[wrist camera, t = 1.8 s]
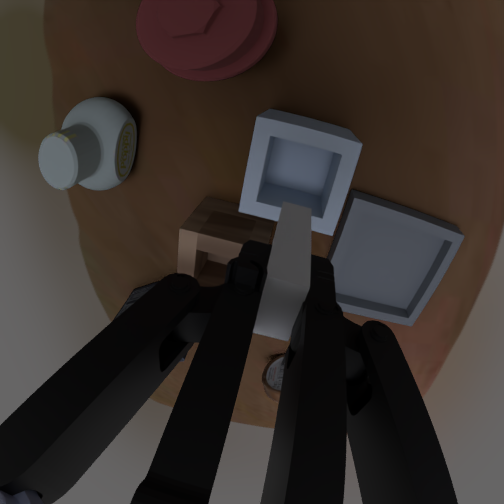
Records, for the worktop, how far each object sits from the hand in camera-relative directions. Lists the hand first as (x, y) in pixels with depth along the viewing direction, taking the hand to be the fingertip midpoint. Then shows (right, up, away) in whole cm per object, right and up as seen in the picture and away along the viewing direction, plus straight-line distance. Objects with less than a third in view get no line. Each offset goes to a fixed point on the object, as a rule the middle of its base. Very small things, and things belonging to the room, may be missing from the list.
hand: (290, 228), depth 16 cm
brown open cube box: (-4, +1, +20) cm, 20 cm away
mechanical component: (-4, +20, +8) cm, 22 cm away
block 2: (+3, +8, +13) cm, 16 cm away
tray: (+14, -2, +17) cm, 22 cm away
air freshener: (-19, +12, +16) cm, 27 cm away
